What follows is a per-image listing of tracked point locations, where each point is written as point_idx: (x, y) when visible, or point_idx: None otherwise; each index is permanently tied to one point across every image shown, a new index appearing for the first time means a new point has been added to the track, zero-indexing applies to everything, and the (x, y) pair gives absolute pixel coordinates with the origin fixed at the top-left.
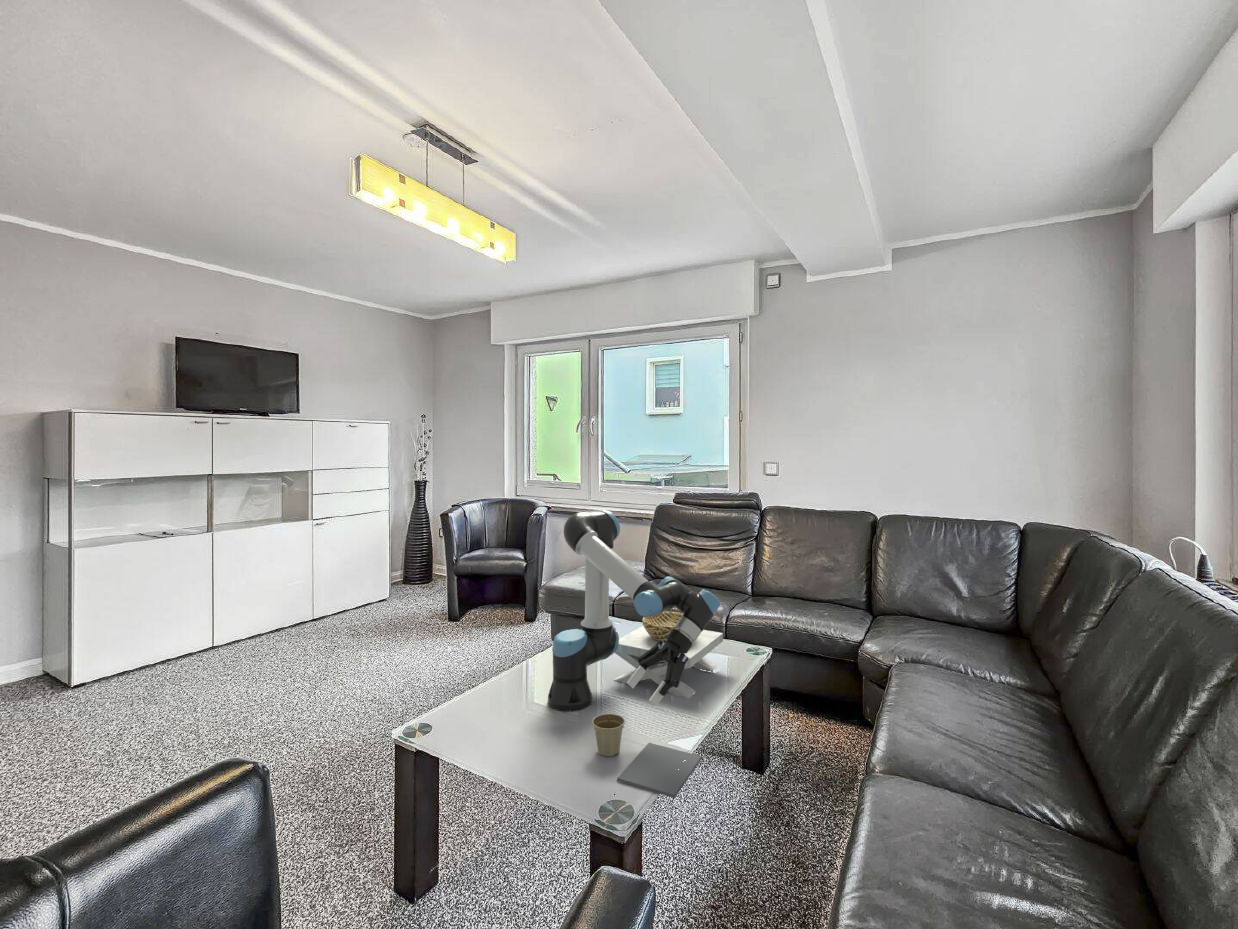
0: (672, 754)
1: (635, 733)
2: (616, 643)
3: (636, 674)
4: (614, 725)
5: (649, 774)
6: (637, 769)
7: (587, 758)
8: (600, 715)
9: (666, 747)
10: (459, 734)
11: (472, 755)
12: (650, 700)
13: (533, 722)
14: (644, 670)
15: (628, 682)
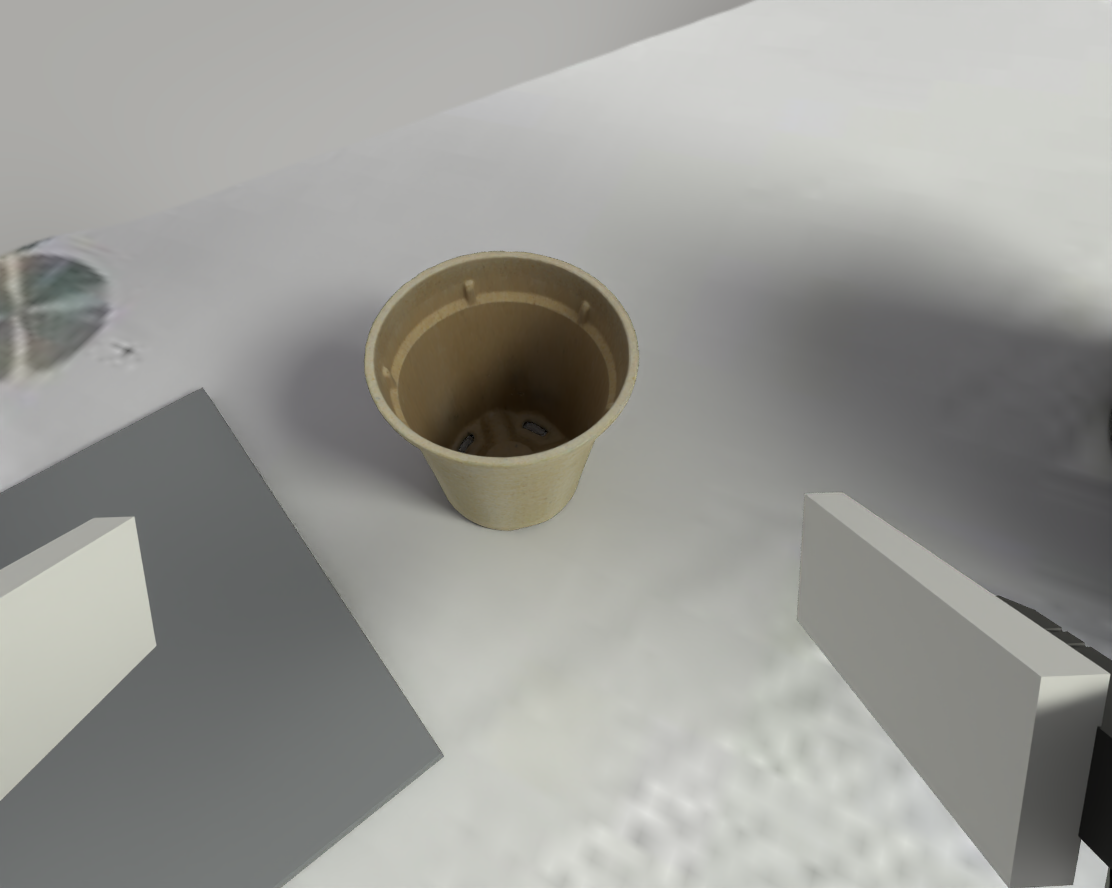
0: (173, 853)
1: (666, 743)
2: None
3: (903, 607)
4: (570, 461)
5: None
6: (190, 513)
7: None
8: (625, 331)
9: (292, 863)
10: (905, 25)
11: (720, 35)
12: (90, 521)
13: (977, 241)
14: (1000, 820)
15: (815, 499)
